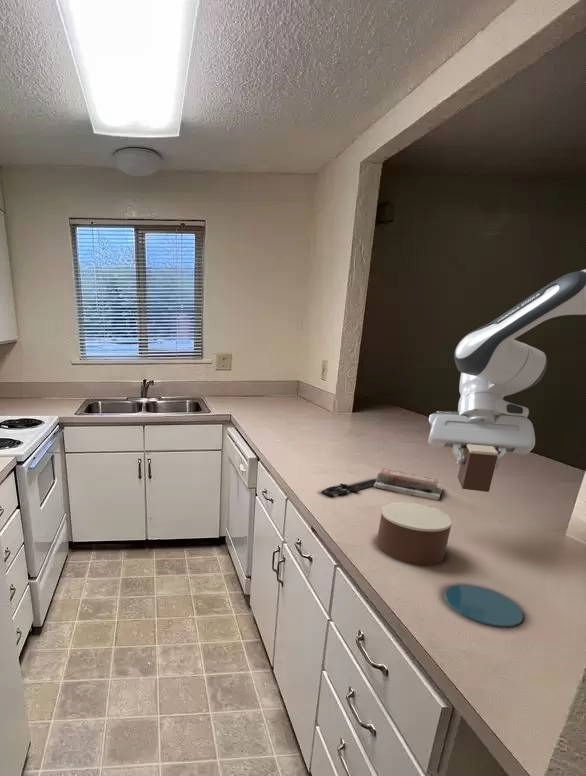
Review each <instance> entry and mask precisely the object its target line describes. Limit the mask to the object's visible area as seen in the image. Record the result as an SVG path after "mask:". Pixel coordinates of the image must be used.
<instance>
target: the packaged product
mask: <svg viewBox="0 0 586 776" xmlns="http://www.w3.org/2000/svg"><path fill="white" fill-rule="evenodd" d="M376 477H377V478H376V479H377V480H376V482H375V484H374V486H373V487H374V488H377V489H382V490H388V491H391V492H396V493H399V494H403V495H406V496H414V497H418V498H419V497H420V498H424V499H428V500H429V499H430V500H435V501H439V500H440V497H441V494H442V491H443V486H438V483H439V481H438V479H437V478H433V477H429V476H423V475H419V474H414V473H409V472H404V471H400V470H394V469H390V468H382V469H381V470H379V472H377V476H376Z"/></svg>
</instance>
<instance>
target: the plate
mask: <svg viewBox="0 0 586 776" xmlns="http://www.w3.org/2000/svg"><path fill="white" fill-rule="evenodd" d="M444 597H445V601H446V603H447V605H449V606H450V607H451V608H452V609H453V610H454V611H456V612H457V613H458V614H460V615H461V616H463V617H465V618H467V619H469V620H471V621H474V622H477V623H479V624H483V625H486V626H490V627H496V628H512V627H515V626H518V625H520V624H521V623H522V621H523V619H524V614H523V611H522V609H521V608H520V607H519V606H518V605H517V604H516V603H515V602H514V601H512V600H511V599H509V598H508V597H506V596H505V595H503V594H501V593H499V592H497V591H494V590H491V589H489V588H486V587H481V586H478V585H470V584H457V585H453V586H450V587H449V588H448V589H446V591H445V594H444Z"/></svg>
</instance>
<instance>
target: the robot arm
mask: <svg viewBox="0 0 586 776" xmlns="http://www.w3.org/2000/svg"><path fill="white" fill-rule="evenodd" d="M573 315H574V316H586V268H585V269H581V270H577V271H573V272H569V273H566V274H564V275H562V276H560V277H558V278H557V279H555V280H553V281H552V282H550V283H548V284H546V285H545V286H544V287H542V288H540V289H538V290H537V291H536V292H534V293H532V294H531V295H530V296H528V297H527V298H525V299H524V300H522V301H521V302H519V303H517V304H516V305H515V306H513V307H512V308H511V309H508V310H507V311H506V312H504V313H502V314H501V315H499V316H498V317H497V318H495V319H493V320H492V321H490V322H488V323H487V324H484V325H482V326H480V327H478V328H476V329H475V330H472V331H470V332H468V334H466V335H464V337H463V338H462V339H461V340H460V341H459V342H458V344H457V345H456V347H455V349H454V354H453V355H454V363H455V366H456V369H457V370H458V372H459V373H460V377H459V384H458V385H459V386H458V387H459V388H458V391H459V394H460V397H459V400H458V403H457V411H443V410H437V411H435V412H433V413H431V414H430V415H429V416H428V417H429V418H428V424H429V426H430V431H429V433H428V434H429V435H428V438H427V440H428V441H427V443H428V444H429V445H430V447H434V448H444V449H445V448H446V449H451V452H452V454H453V455H454V457H455V458H456V465H464V464H465V462H466V455H463V452H461V450H464V447H465V444H477V445H489V446H493V447H494V448H495V449H496V451H497V452H498V457H497V461H496V465H495V469H498V468H499V467H500V464H501V459H502V458H503V457H504V456H505V455H506V454H514V455H525V456H526V455H528V454H529V453H530V452H531V451H532V450H533V449H534V447H535V446H536V434H535V429H534V424H533V423H532V421H531V420H530V419H529V418H528V416H529V414H530V410H529V408H528V407H526V406H523V405H518V404H515V403H512V402H509V401H507V400H504V397H506V396H507V397H508V396H512V395H515V394H518V393H520V392H523V391H525V390H527V389H530V388H532V387H533V386H535V385H536V384H538V383H539V382H540V381H541V380H542V378H543V377H544V375H545V372H546V370H547V366H548V357H547V355H546V353H545V352H544V351H542V350H540V349H538V348H537V347H534V346H531V345H529V344H527V343H524V342H521V341H519V340H516V339H517V338H519V337H520V336H521V335H523V334H525V333H526V332H528V331H530V330H531V329H533V328H535V327H536V326H539V324H542V323H543V322H545V321H547V320H550V319H553V318H557V317H561V316H573Z"/></svg>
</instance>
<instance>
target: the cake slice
mask: <svg viewBox="0 0 586 776" xmlns="http://www.w3.org/2000/svg"><path fill="white" fill-rule="evenodd" d="M462 455H466V462H465V464H464V465H460V464H459V465H460V466H459V469H458V474H457V479H458V481H459V484H460V486H461V489H462V490H469V491H476V492H485V493H486V492H487V493H489V492H490V489H491V486H492V480H493V478H494V477H493V476H494V473H495V469H496V468H495V465H496V461H497V457H498V452H497V451H496V449H495V448H494V447H493V446H489V445H477V444H465V447H464V449H463V451H462Z"/></svg>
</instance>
